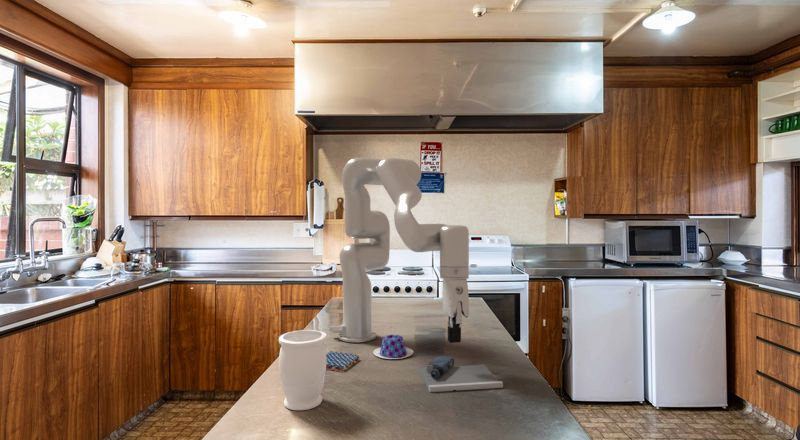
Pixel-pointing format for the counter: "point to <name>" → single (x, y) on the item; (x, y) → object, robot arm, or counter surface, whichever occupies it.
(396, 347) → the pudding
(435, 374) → the vaping device
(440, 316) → the counter surface
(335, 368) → the woven mat
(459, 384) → the grey flat slab
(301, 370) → the jar
